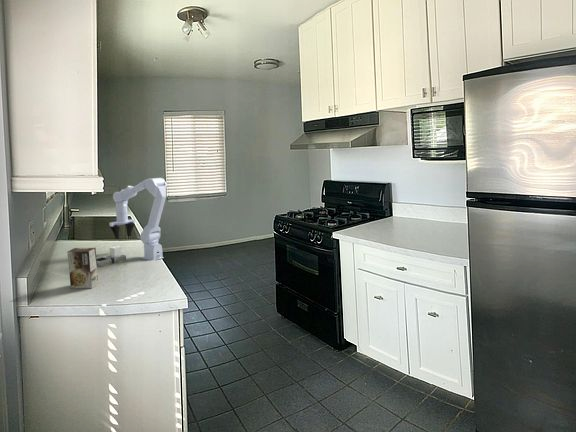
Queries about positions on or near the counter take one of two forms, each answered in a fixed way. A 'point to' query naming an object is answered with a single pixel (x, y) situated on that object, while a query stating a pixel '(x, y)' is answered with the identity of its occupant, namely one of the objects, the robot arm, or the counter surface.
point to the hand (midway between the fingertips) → (123, 237)
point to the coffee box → (82, 267)
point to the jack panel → (109, 260)
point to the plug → (115, 251)
